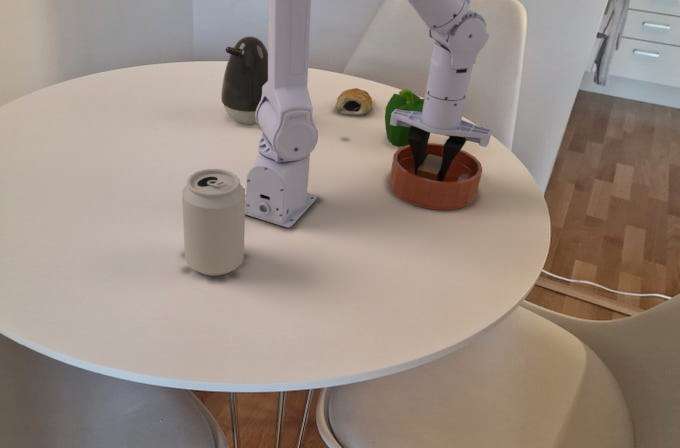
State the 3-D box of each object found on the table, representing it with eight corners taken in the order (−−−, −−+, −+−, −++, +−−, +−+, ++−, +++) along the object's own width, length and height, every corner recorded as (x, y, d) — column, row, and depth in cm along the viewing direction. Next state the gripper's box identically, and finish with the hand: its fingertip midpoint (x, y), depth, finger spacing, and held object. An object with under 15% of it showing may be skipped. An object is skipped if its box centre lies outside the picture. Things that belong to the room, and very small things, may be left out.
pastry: (342, 96, 130) (344, 78, 128) (375, 101, 129) (377, 83, 127) (333, 114, 123) (335, 95, 121) (369, 119, 121) (371, 100, 119)
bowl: (464, 219, 93) (470, 192, 90) (377, 195, 98) (381, 168, 95) (484, 180, 103) (490, 155, 100) (404, 160, 108) (408, 136, 105)
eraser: (432, 194, 97) (437, 174, 96) (413, 189, 99) (417, 169, 97) (443, 178, 102) (447, 158, 100) (424, 173, 103) (428, 153, 101)
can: (213, 238, 87) (212, 158, 80) (256, 260, 83) (258, 178, 76) (172, 262, 82) (167, 180, 75) (215, 287, 78) (214, 203, 71)
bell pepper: (416, 130, 118) (425, 78, 112) (435, 150, 111) (445, 95, 106) (373, 133, 116) (380, 79, 111) (389, 153, 110) (397, 98, 104)
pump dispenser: (209, 116, 120) (207, 35, 111) (251, 103, 126) (253, 25, 117) (245, 135, 113) (246, 50, 105) (287, 120, 119) (291, 39, 111)
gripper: (503, 94, 92) (483, 177, 100) (405, 74, 98) (393, 154, 105) (493, 111, 87) (472, 197, 95) (390, 89, 93) (379, 172, 100)
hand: (430, 176), depth 100 cm, fingers closed on eraser, 3 cm apart
